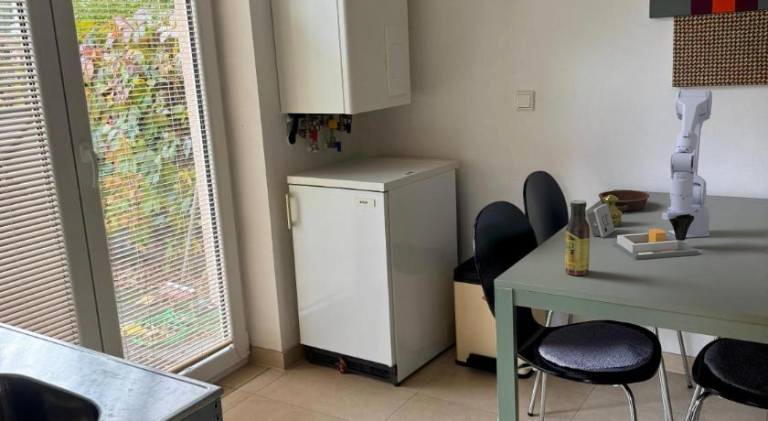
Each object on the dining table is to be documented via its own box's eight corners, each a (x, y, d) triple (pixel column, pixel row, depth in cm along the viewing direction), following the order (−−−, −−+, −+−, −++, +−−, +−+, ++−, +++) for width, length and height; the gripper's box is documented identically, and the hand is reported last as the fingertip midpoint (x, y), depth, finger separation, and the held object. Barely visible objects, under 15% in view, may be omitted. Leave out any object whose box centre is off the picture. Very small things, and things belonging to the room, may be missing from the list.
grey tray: (670, 239, 217) (671, 228, 216) (697, 254, 201) (697, 242, 200) (612, 244, 215) (612, 233, 215) (635, 259, 200) (635, 247, 199)
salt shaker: (597, 227, 235) (597, 197, 233) (599, 221, 242) (600, 192, 240) (621, 228, 233) (621, 198, 230) (622, 222, 239) (623, 193, 237)
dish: (592, 213, 254) (592, 200, 253) (605, 200, 273) (605, 187, 272) (643, 216, 246) (644, 202, 245) (653, 202, 264) (653, 189, 263)
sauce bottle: (561, 270, 195) (561, 199, 190) (584, 268, 195) (584, 197, 191) (570, 277, 188) (570, 204, 184) (593, 275, 189) (593, 202, 184)
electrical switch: (603, 238, 222) (601, 209, 220) (587, 238, 225) (585, 209, 224) (615, 231, 229) (612, 203, 228) (599, 231, 232) (597, 203, 231)
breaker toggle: (658, 242, 210) (658, 228, 209) (665, 246, 206) (666, 232, 205) (648, 243, 210) (649, 229, 209) (655, 247, 206) (655, 233, 205)
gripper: (686, 188, 212) (684, 232, 215) (653, 196, 205) (652, 241, 208) (707, 191, 206) (705, 237, 209) (674, 199, 199) (673, 246, 202)
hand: (680, 239), depth 208 cm, fingers closed
